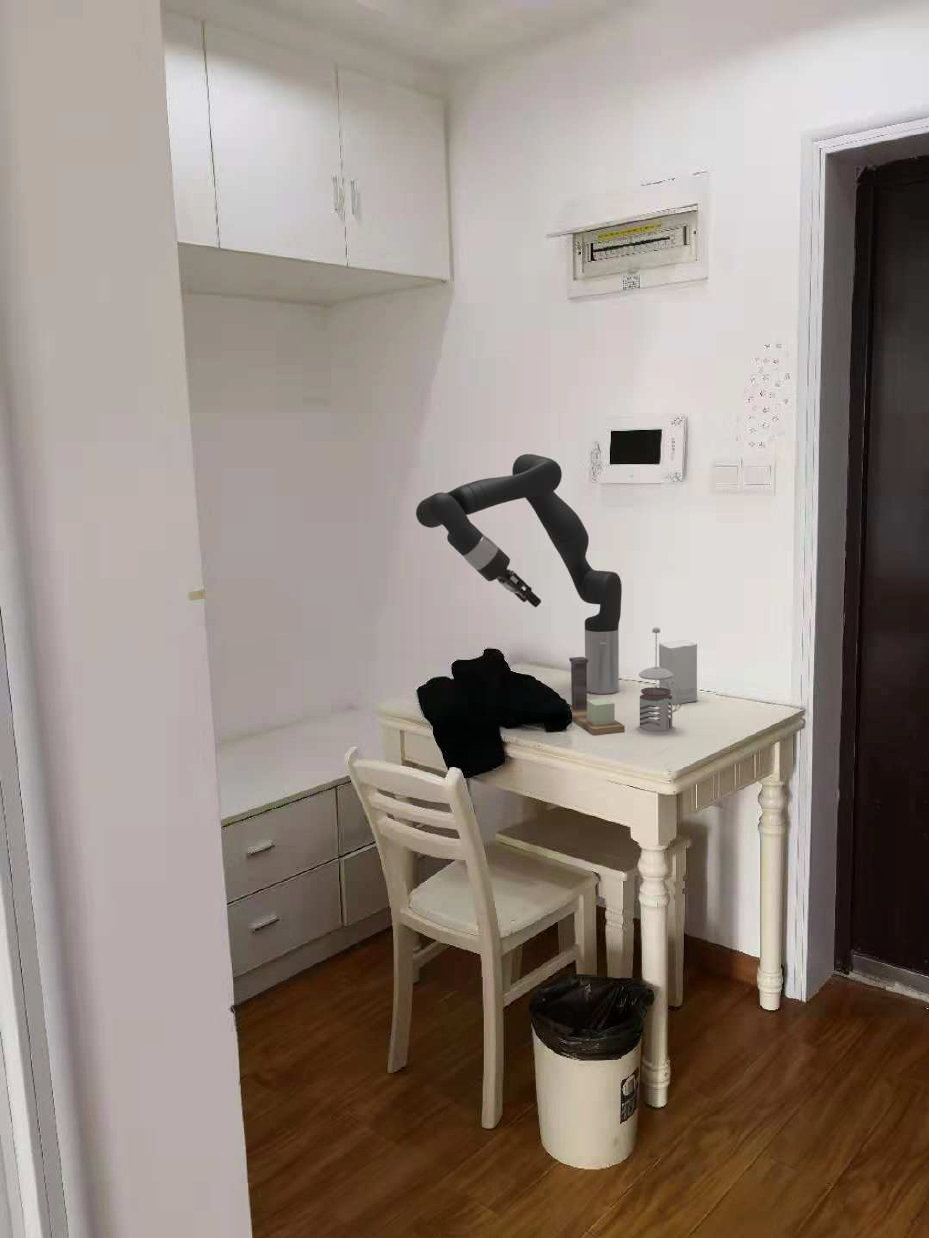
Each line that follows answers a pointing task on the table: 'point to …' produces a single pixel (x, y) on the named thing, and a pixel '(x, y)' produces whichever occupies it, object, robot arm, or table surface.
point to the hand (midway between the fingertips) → (532, 601)
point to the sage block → (600, 712)
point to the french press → (656, 701)
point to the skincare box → (679, 669)
